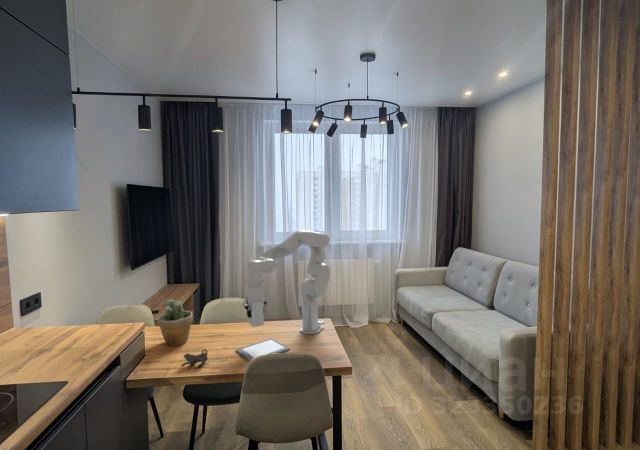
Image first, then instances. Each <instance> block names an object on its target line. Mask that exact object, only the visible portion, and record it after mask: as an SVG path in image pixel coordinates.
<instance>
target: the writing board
mask: <svg viewBox="0 0 640 450" xmlns="http://www.w3.org/2000/svg"><path fill="white" fill-rule="evenodd" d="M289 351H290V347H288V346H287V345H285V344H282V343H281V342H279V341H278V340H275V339H274V338H272V337H271V338H268V339H264V340H262V341H258V342H256V343H252V344H249V345H245V346H243V347H239V348H237V349H235V352H236V353H237V354H239V355H240V356H241V357H243V358H244V359H245V360H247V361H248V362H249V361H251V360H252V359H253V358H255V357H257V356H260V355H266V354H272V353H280V354H282V352H283V353H285V352H289Z"/></svg>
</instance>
